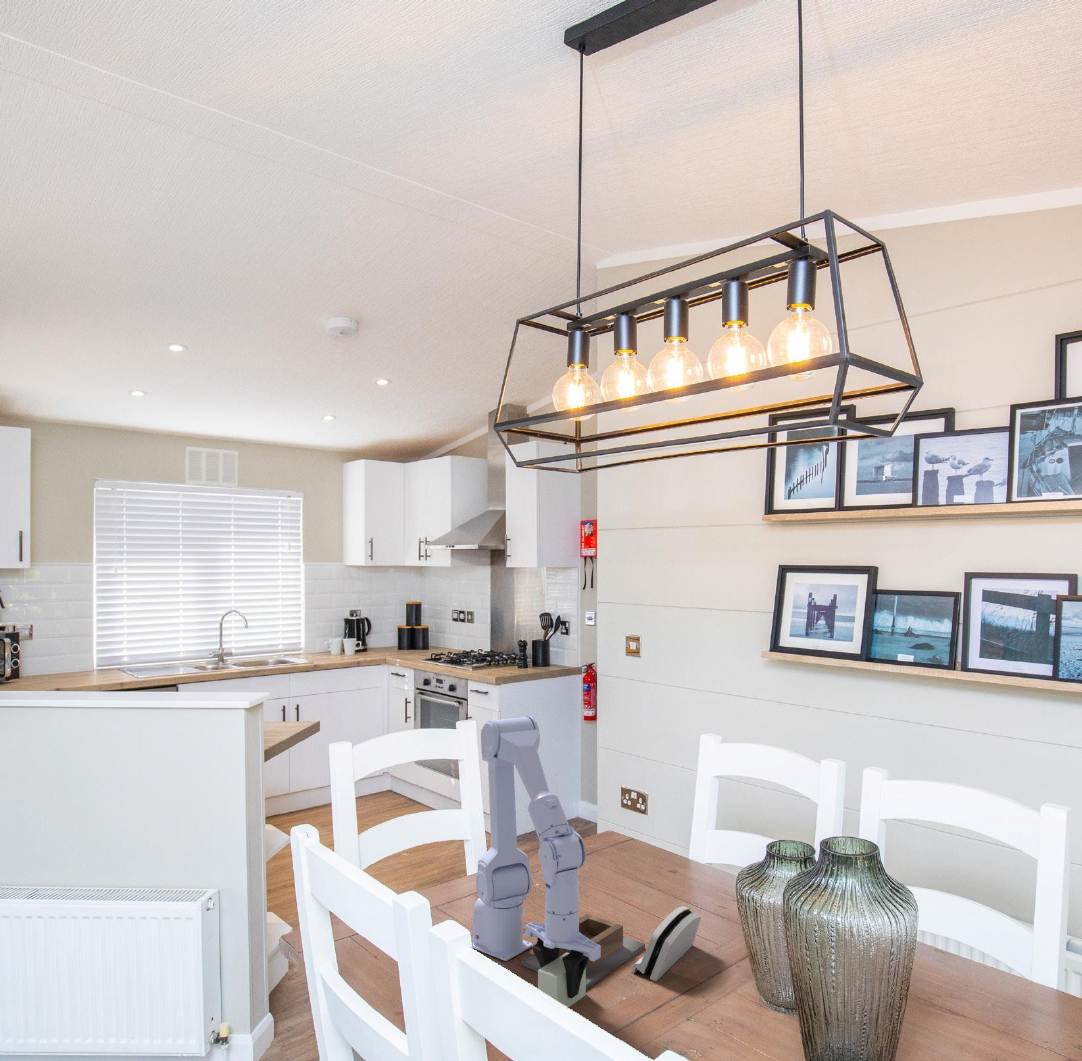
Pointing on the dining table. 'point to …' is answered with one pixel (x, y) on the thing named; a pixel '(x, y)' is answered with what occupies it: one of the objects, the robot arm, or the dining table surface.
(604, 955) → the wooden box frame
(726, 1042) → the dining table surface
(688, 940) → the white black rounded slab
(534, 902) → the dining table surface
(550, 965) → the pale green block
